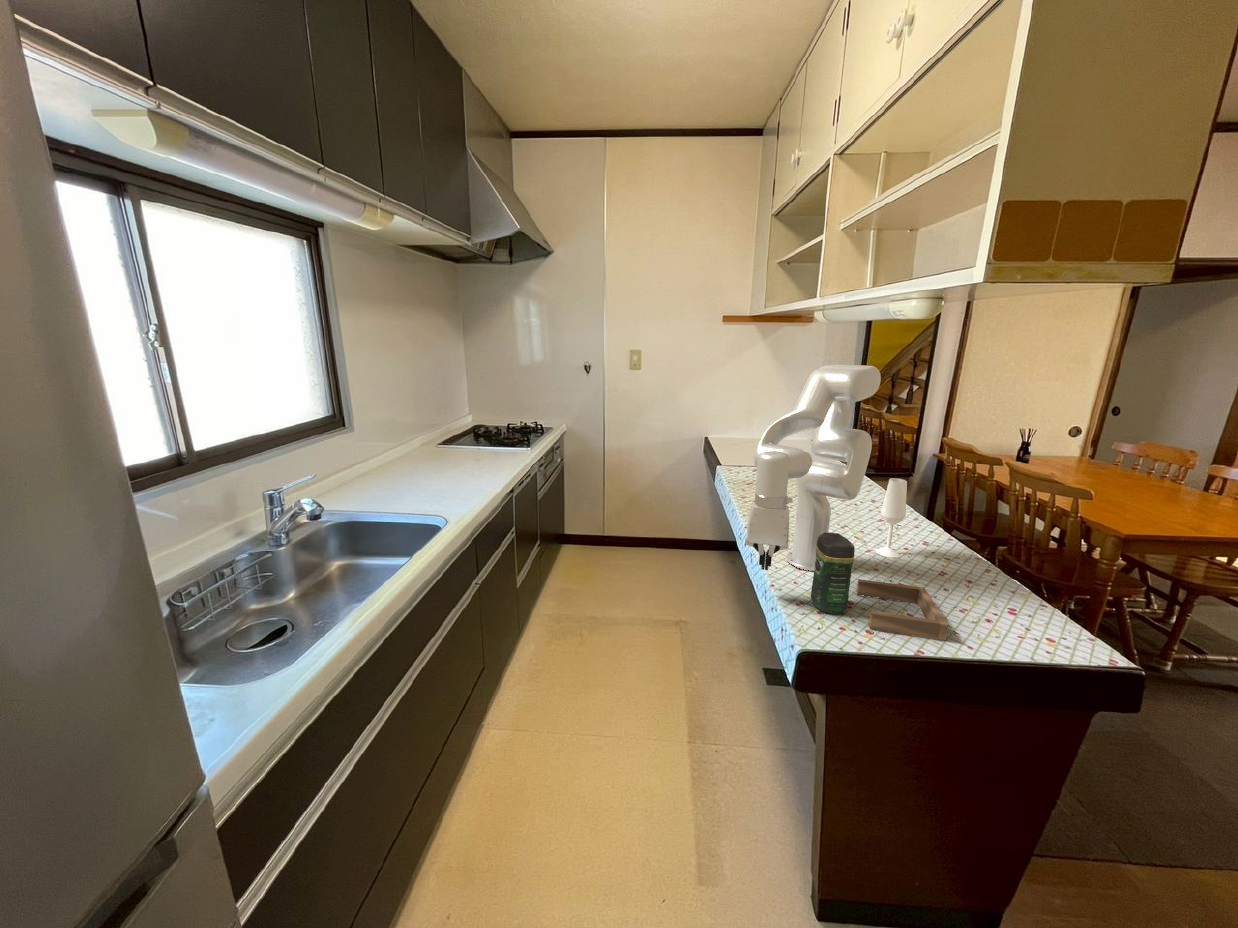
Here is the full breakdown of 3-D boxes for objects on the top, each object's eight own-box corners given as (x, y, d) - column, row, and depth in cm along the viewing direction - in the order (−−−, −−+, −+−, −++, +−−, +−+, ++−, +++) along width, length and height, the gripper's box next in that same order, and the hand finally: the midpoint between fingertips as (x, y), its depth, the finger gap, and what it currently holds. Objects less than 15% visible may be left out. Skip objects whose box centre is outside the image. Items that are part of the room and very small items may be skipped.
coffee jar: (851, 616, 120) (860, 545, 115) (818, 614, 120) (826, 544, 116) (837, 596, 129) (846, 530, 125) (806, 594, 130) (814, 529, 125)
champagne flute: (886, 558, 152) (898, 484, 146) (870, 549, 159) (880, 478, 153) (904, 556, 154) (916, 482, 148) (887, 547, 160) (898, 476, 154)
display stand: (856, 592, 131) (858, 579, 130) (921, 601, 127) (924, 587, 126) (869, 629, 114) (872, 614, 113) (945, 640, 110) (948, 624, 109)
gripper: (800, 498, 124) (794, 565, 129) (740, 493, 128) (736, 558, 133) (802, 508, 117) (795, 578, 122) (738, 502, 121) (734, 570, 126)
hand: (764, 567), depth 127 cm, fingers closed
